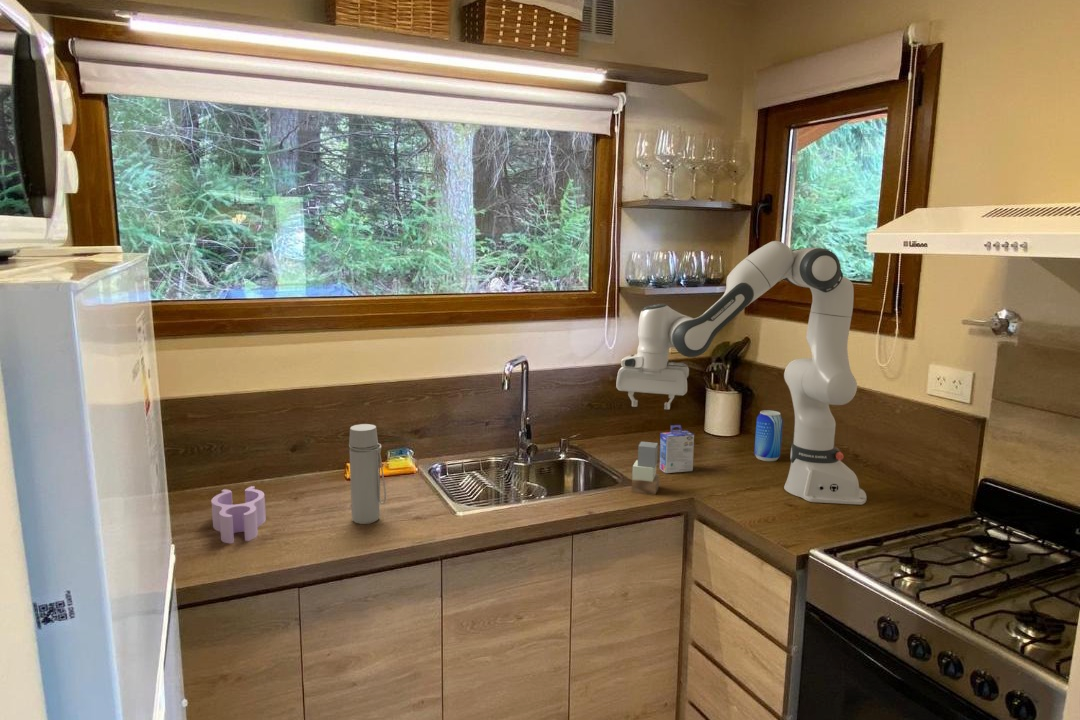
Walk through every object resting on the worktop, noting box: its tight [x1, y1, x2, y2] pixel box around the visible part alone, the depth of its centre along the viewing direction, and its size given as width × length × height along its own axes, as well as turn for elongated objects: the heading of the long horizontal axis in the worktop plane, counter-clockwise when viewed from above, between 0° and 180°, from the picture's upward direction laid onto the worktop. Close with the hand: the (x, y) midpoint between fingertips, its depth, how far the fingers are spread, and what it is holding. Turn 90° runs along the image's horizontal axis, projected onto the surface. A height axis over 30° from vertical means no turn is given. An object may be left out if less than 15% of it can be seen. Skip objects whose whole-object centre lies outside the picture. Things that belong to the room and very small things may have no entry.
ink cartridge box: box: [659, 424, 695, 474], centre depth 225 cm, size 10×6×14 cm, turn 106°
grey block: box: [637, 441, 659, 468], centre depth 206 cm, size 5×5×6 cm
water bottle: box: [348, 423, 387, 525], centre depth 181 cm, size 9×8×25 cm
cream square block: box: [631, 459, 657, 482], centre depth 207 cm, size 6×6×4 cm
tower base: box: [631, 474, 660, 496], centre depth 208 cm, size 7×7×4 cm
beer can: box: [753, 409, 784, 462], centre depth 238 cm, size 8×8×16 cm
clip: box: [210, 485, 267, 544], centre depth 177 cm, size 20×12×7 cm, turn 23°
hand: (650, 407), depth 204 cm, fingers open, 8 cm apart
